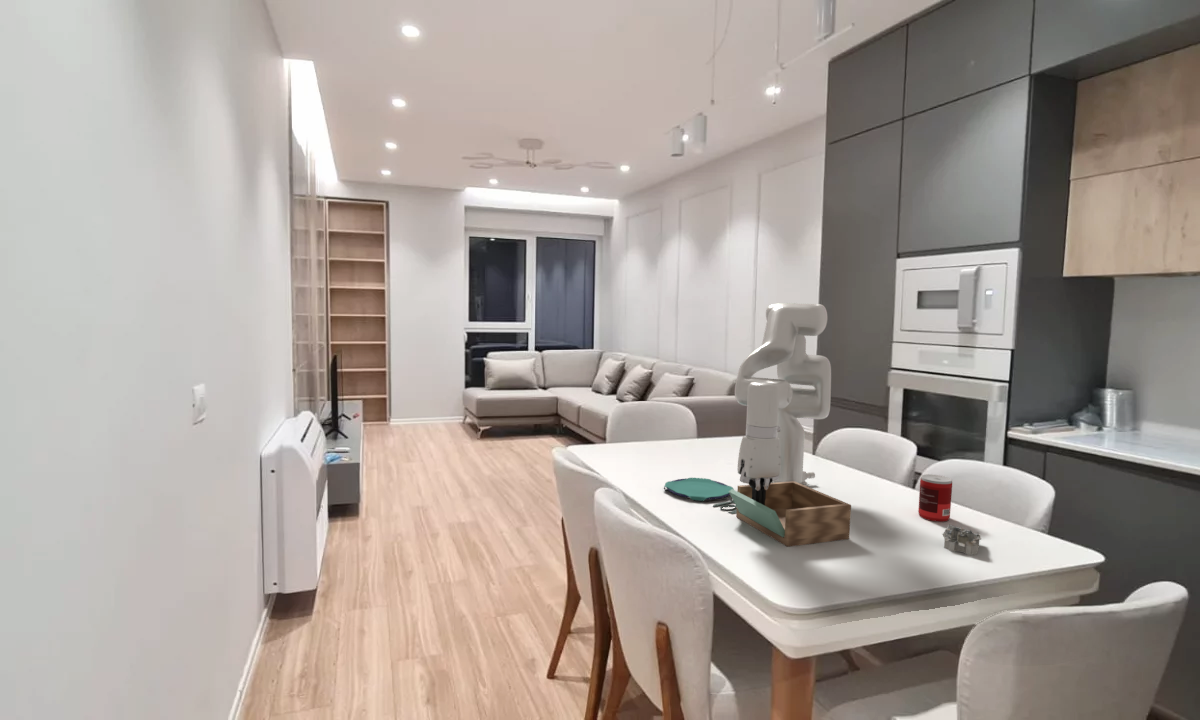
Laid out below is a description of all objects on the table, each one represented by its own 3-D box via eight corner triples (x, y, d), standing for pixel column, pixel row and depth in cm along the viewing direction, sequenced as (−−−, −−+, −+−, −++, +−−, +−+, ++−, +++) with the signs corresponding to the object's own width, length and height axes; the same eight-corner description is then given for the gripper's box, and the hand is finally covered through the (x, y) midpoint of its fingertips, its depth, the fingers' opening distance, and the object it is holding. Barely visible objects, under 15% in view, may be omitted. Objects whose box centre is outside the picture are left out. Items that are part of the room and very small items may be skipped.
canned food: (948, 515, 171) (951, 476, 170) (951, 524, 163) (953, 483, 163) (917, 511, 174) (919, 472, 173) (918, 519, 167) (921, 479, 166)
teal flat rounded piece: (700, 480, 201) (700, 473, 200) (772, 507, 176) (773, 499, 176) (652, 489, 190) (652, 482, 189) (723, 519, 165) (723, 511, 165)
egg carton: (976, 558, 141) (977, 540, 141) (939, 549, 146) (940, 532, 145) (982, 545, 149) (983, 528, 149) (947, 537, 154) (948, 521, 154)
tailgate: (742, 510, 163) (732, 488, 162) (786, 534, 146) (775, 510, 144) (739, 512, 163) (728, 491, 162) (783, 537, 146) (771, 513, 144)
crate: (792, 511, 171) (794, 481, 170) (849, 539, 150) (851, 504, 150) (736, 516, 165) (737, 485, 164) (787, 546, 144) (789, 511, 144)
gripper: (777, 427, 158) (774, 497, 160) (727, 430, 153) (724, 502, 155) (796, 433, 151) (792, 506, 153) (744, 436, 146) (741, 511, 148)
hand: (758, 504), depth 154 cm, fingers closed
